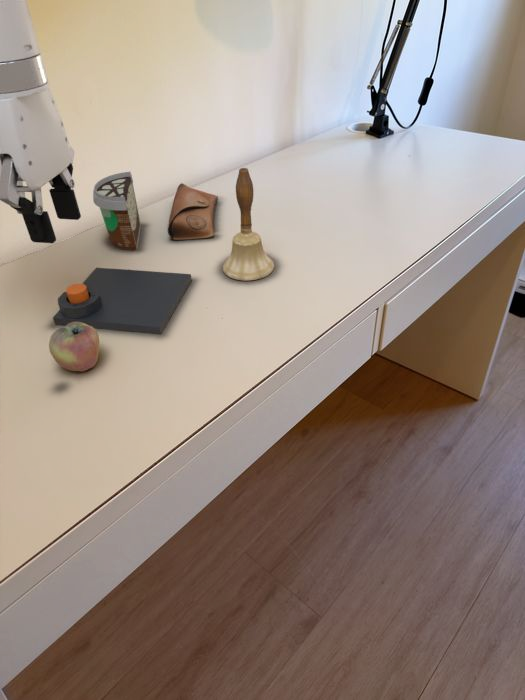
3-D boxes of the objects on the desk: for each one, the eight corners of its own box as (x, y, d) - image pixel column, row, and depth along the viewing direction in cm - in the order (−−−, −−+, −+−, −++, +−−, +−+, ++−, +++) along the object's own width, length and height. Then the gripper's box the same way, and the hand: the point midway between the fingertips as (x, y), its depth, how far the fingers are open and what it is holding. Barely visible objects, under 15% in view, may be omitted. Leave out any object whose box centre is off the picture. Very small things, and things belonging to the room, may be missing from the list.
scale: (55, 324, 75) (48, 307, 73) (97, 273, 85) (93, 257, 84) (161, 334, 72) (157, 316, 70) (191, 280, 83) (189, 263, 81)
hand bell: (243, 250, 89) (236, 155, 79) (284, 263, 85) (282, 165, 75) (212, 272, 84) (200, 173, 74) (254, 286, 80) (247, 185, 70)
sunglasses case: (217, 235, 93) (193, 205, 89) (185, 255, 95) (161, 227, 92) (218, 195, 107) (198, 168, 103) (191, 213, 109) (170, 187, 106)
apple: (48, 388, 64) (32, 351, 61) (65, 347, 70) (52, 311, 67) (97, 386, 64) (84, 349, 61) (110, 345, 70) (99, 309, 67)
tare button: (65, 303, 74) (62, 293, 73) (74, 292, 76) (71, 282, 75) (83, 305, 74) (80, 294, 73) (92, 294, 76) (89, 284, 75)
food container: (108, 225, 99) (95, 173, 93) (141, 222, 100) (130, 170, 93) (100, 257, 90) (85, 201, 83) (136, 254, 90) (124, 198, 84)
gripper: (21, 59, 64) (63, 201, 75) (-76, 96, 51) (-8, 260, 62) (78, 59, 63) (112, 203, 74) (-7, 97, 50) (50, 265, 61)
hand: (57, 228), depth 68 cm, fingers open, 5 cm apart
